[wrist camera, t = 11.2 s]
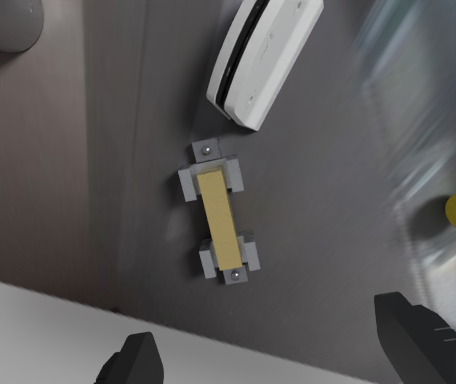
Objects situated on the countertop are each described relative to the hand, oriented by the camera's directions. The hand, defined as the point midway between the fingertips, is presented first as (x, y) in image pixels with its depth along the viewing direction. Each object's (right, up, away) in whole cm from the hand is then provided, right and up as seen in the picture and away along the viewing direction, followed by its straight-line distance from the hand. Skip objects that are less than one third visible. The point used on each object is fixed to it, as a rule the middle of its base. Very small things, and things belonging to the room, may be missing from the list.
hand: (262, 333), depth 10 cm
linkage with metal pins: (-2, +2, +31) cm, 31 cm away
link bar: (-2, +2, +29) cm, 29 cm away
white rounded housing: (+3, +22, +26) cm, 34 cm away
